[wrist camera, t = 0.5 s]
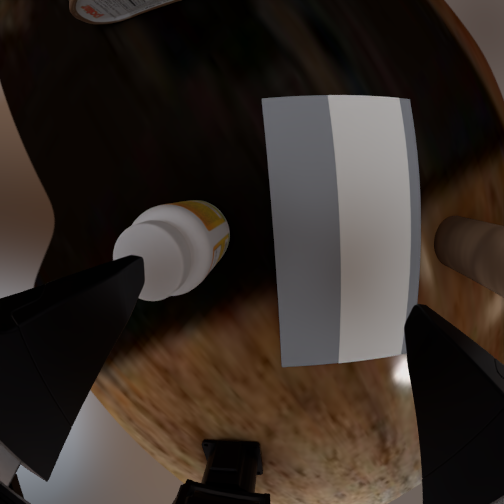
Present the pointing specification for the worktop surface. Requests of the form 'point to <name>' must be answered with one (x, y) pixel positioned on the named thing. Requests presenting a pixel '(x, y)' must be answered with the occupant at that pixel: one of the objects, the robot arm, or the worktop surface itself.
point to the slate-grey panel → (343, 224)
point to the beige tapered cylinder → (473, 250)
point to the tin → (112, 9)
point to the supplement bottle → (175, 246)
